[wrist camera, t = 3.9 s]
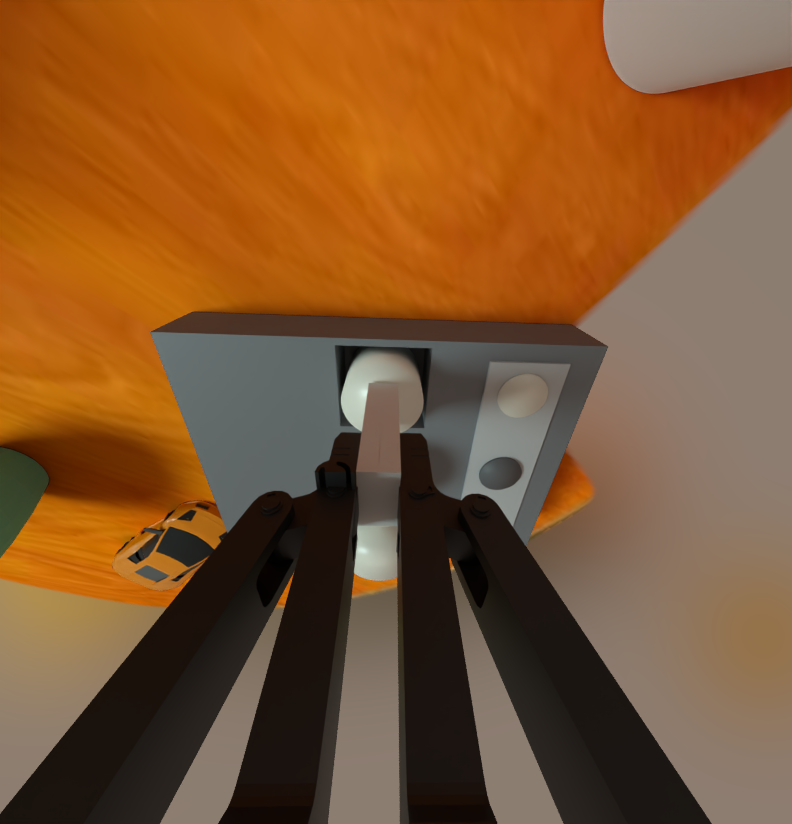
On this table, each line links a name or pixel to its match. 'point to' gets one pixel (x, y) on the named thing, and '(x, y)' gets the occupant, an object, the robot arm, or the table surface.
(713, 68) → the cup
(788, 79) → the table surface
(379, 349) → the button
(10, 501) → the mug
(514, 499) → the console
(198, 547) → the toy car
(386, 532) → the button
